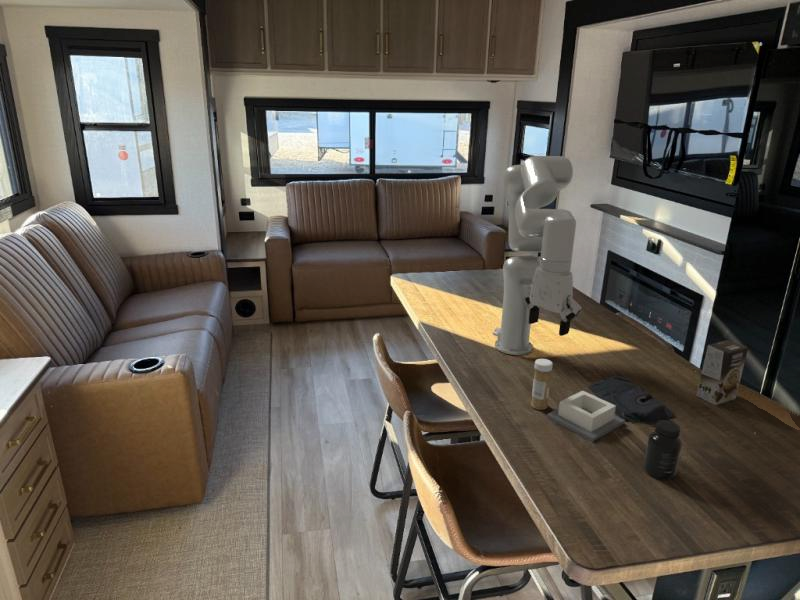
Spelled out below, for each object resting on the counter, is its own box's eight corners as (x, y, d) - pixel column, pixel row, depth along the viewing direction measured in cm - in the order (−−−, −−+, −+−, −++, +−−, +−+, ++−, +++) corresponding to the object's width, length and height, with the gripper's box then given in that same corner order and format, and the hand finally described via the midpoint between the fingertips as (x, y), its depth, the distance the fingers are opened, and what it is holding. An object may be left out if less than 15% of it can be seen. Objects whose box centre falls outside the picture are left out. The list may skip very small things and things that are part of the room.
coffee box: (716, 406, 158) (728, 353, 152) (695, 395, 163) (706, 344, 157) (736, 399, 162) (749, 347, 156) (715, 389, 167) (727, 338, 161)
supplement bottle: (637, 462, 132) (645, 417, 128) (665, 461, 133) (674, 416, 129) (652, 481, 126) (661, 434, 122) (681, 480, 126) (691, 433, 122)
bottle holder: (546, 417, 150) (548, 400, 149) (578, 401, 158) (580, 385, 157) (592, 441, 140) (595, 424, 138) (624, 423, 148) (627, 406, 146)
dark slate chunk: (630, 382, 171) (632, 368, 169) (678, 421, 151) (682, 405, 149) (583, 386, 168) (585, 372, 166) (627, 427, 147) (630, 411, 146)
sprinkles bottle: (550, 407, 155) (556, 362, 151) (539, 412, 153) (544, 366, 148) (538, 400, 159) (543, 356, 154) (526, 404, 156) (531, 360, 152)
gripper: (518, 259, 146) (512, 321, 152) (575, 275, 134) (567, 342, 139) (537, 255, 151) (531, 315, 156) (594, 270, 138) (585, 335, 144)
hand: (548, 328), depth 148 cm, fingers open, 9 cm apart
